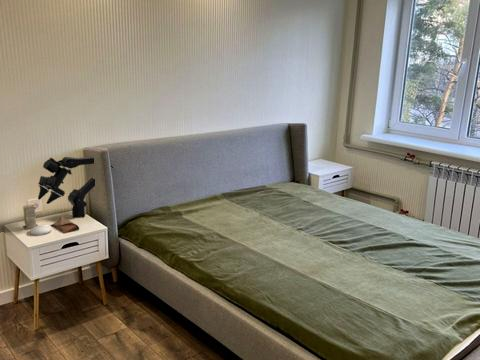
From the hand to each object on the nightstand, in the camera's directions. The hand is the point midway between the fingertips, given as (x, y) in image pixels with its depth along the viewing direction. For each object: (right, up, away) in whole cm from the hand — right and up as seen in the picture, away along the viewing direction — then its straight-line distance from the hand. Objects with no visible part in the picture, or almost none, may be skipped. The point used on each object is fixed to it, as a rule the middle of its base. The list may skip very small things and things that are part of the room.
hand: (42, 201), depth 252 cm
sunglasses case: (+12, -15, 0) cm, 19 cm away
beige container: (-6, -14, -1) cm, 15 cm away
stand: (+2, -16, -8) cm, 18 cm away
